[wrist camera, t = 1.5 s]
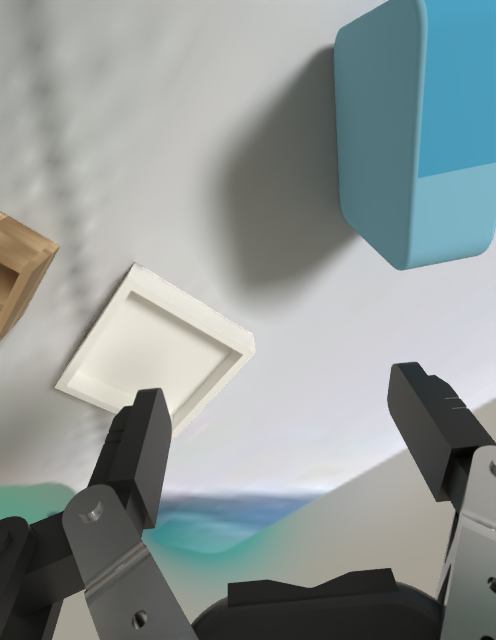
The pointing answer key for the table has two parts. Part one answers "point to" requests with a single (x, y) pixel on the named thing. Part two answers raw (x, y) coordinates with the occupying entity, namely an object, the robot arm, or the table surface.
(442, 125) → the blue rounded block
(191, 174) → the table surface
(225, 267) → the table surface
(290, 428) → the table surface
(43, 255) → the small crate
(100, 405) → the large crate
